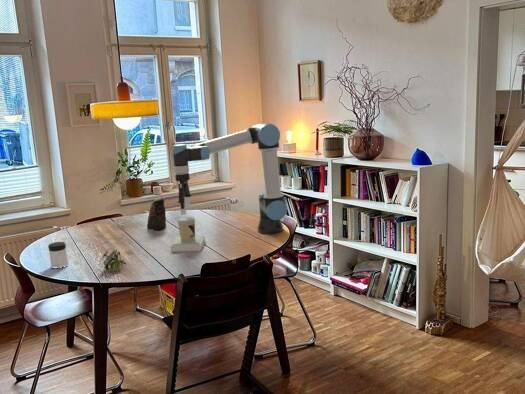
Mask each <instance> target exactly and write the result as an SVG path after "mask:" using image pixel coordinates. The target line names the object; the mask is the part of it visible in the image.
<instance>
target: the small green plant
mask: <svg viewBox="0 0 525 394" xmlns="http://www.w3.org/2000/svg"><path fill="white" fill-rule="evenodd" d="M108 253H109V251H106V252H105V253H103V255H102V259H104V258H105V257H106V259H105V260H104V261H103V262H102V265H104V267H103V270H104V269H106V270H107V269H109V271H110V273H114V272H116V271H117V270H119V269H120V268H121V267H122V268H124V266H123V265H127V263H126V262H125V259H122V260H121V258H122V257H119V256H121V252H120V250H118V249H115V250H113V251H112V252H110V254H109V255H108ZM113 271H114V272H113Z"/></svg>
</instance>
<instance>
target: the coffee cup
mask: <svg viewBox="0 0 525 394" xmlns="http://www.w3.org/2000/svg"><path fill="white" fill-rule="evenodd" d="M195 221H196V219H195V217H193V216H185V217H184V216H183V217H180V218H178V220H177V223H178V230H179V236H180V237H181V241H183V242H189V241H193V240H195V236H196V226H195V225H196V222H195Z"/></svg>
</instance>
